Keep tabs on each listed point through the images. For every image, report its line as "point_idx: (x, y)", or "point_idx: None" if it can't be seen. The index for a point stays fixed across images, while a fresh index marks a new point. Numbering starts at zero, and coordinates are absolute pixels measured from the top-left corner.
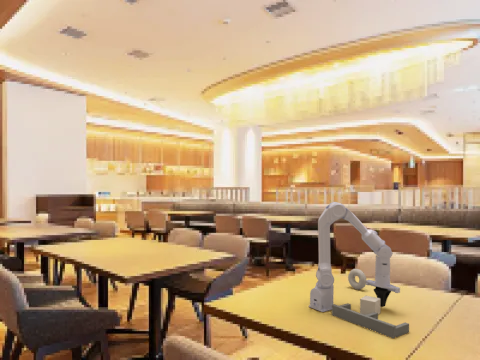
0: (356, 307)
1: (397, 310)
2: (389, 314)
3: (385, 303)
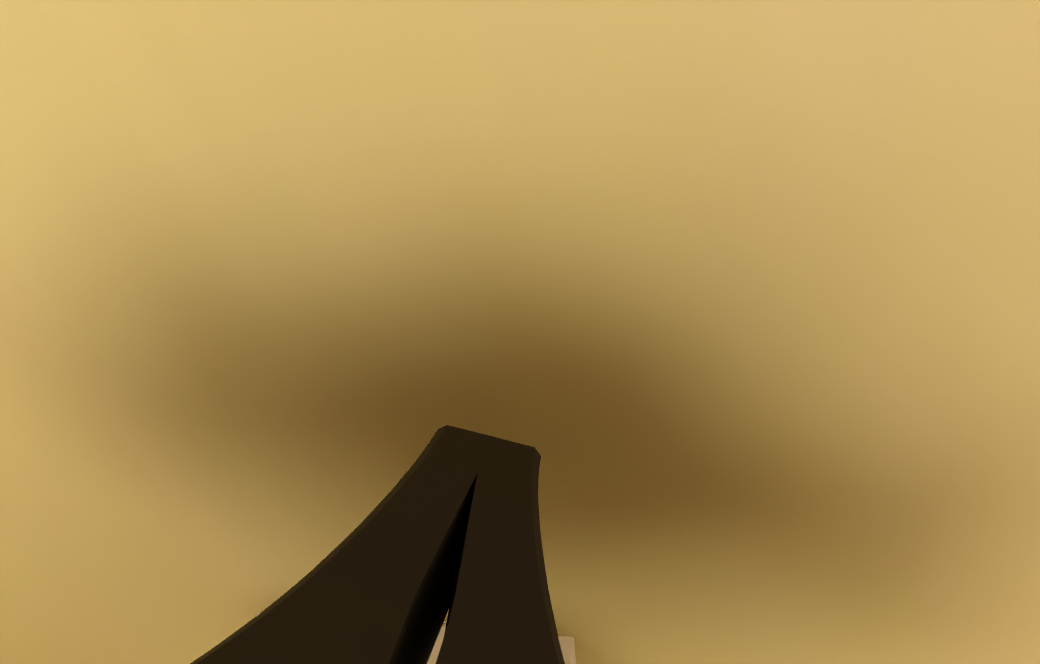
0: (60, 581)
1: (883, 227)
2: (771, 617)
3: (536, 518)
